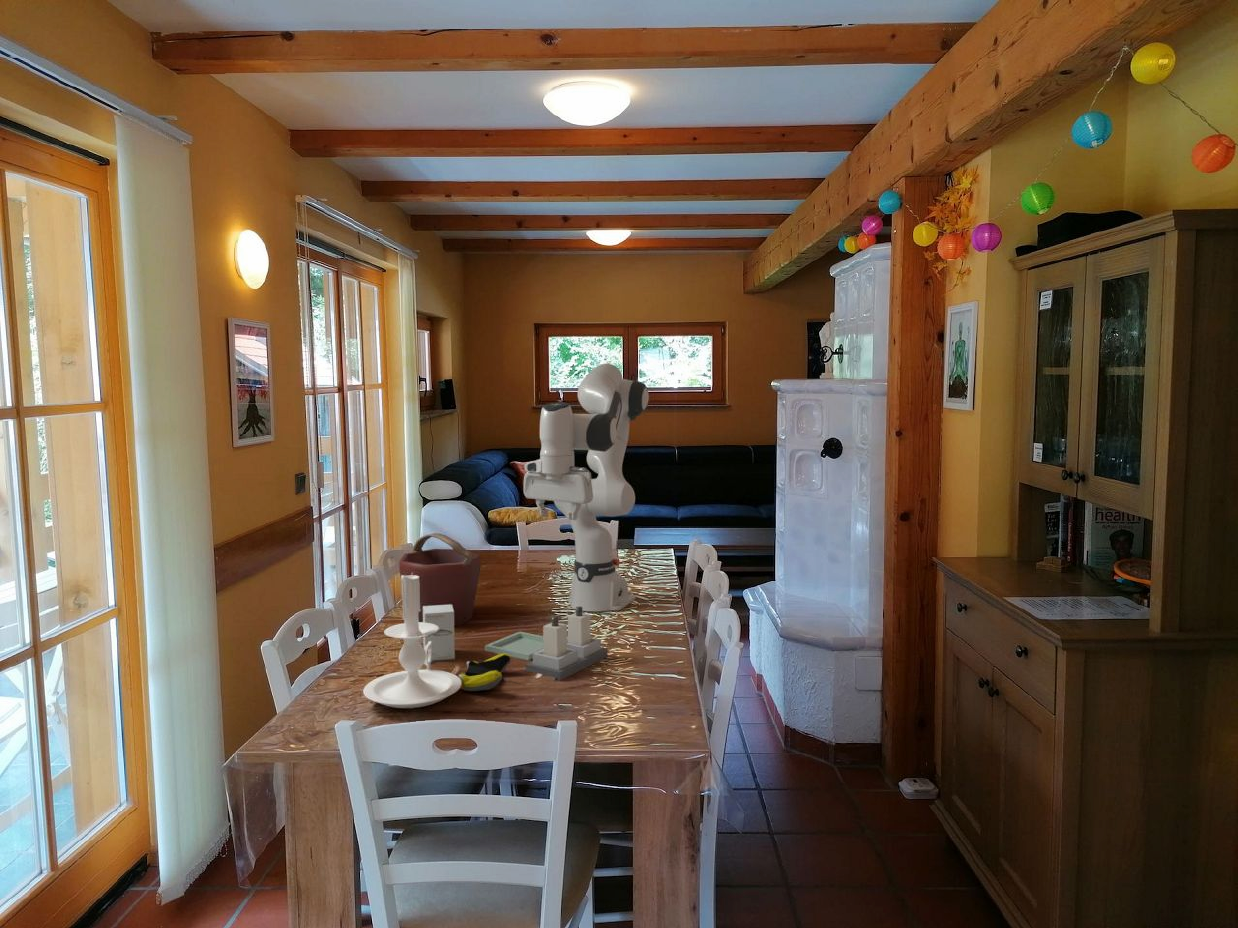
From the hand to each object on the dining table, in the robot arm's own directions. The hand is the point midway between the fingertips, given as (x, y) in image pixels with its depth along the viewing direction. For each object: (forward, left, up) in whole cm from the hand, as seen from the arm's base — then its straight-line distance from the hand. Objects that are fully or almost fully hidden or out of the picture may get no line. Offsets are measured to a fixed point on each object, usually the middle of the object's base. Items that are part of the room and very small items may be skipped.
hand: (558, 517), depth 219 cm
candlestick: (+49, -3, -33) cm, 59 cm away
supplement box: (+28, -17, -33) cm, 46 cm away
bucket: (+4, -40, -33) cm, 52 cm away
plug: (+10, +13, -31) cm, 35 cm away
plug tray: (+12, -3, -33) cm, 35 cm away
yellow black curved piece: (+36, +5, -33) cm, 49 cm away
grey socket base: (+15, +13, -33) cm, 38 cm away
